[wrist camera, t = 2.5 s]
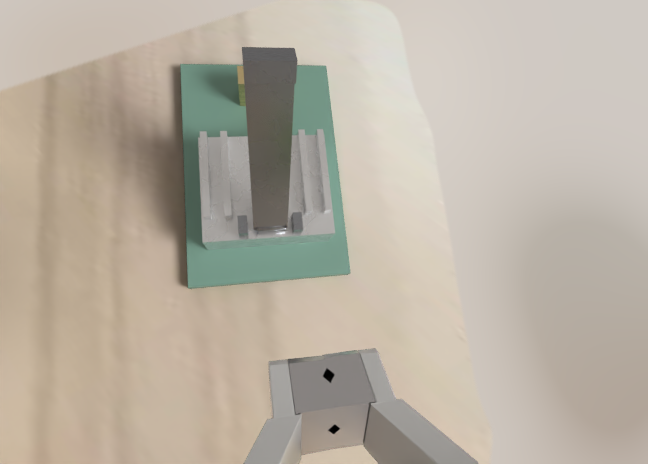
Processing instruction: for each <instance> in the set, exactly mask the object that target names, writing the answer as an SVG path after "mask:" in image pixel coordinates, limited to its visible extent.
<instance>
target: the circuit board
mask: <svg viewBox="0 0 648 464" xmlns="http://www.w3.org/2000/svg"><path fill="white" fill-rule="evenodd" d="M180 66H181V95H182V125H183V154H184V184H185V213H186V243H187V272H188V288H190V289H192V288H204V287H215V286H226V285H237V284H248V283H259V282H270V281H282V280H293V279H304V278H315V277H326V276H337V275H348V274H350V265H349V257H348V248H347V240H346V231H345V223H344V214H343V205H342V197H341V188H340V180H339V171H338V163H337V154H336V146H335V137H334V129H333V120H332V112H331V103H330V95H329V86H328V78H327V69H326V66H302V65H297V77H296V84H295V86H294V106H293V127H292V135H297V133H298V130H300V129H305V135H315V134H316V131H317V129H323V132H324V137H325V146H326V155H327V164H328V173H329V182H330V191H331V200H332V209H333V218H334V227H335V234H334V235H333V236H332V237H331V238H330V240H329V241H326V242H312V243H299V244H285V245H271V246H258V247H244V248H230V249H216V250H208V249H207V248H206V247H205V245H204V244H203V242H202V219H201V195H200V171H199V148H198V137H200V131H206V132H207V135H208V137H220V131H227V135H228V137H242V136H248V134H247V118H246V106H240V99H239V87H238V72H237V66H243V65H208V64H180Z"/></svg>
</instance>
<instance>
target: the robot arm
mask: <svg viewBox="0 0 648 464" xmlns="http://www.w3.org/2000/svg"><path fill="white" fill-rule="evenodd" d="M268 365H269V383H270V401H271V414H272V418H271V419H267V421H266V422H265V424H264V426H263V428H262V430H261V432H260V434H259V436H258V438H257V439H256V441H255V443H254V445H253V447H252V449H251V451H250V453H249V454H248V456H247V458H246V460H245V462H244V464H299V462H300V460H301V455H305V454H310V453H315V452H320V451H325V450H330V449H336V448H343V447H350V446H357V445H364V447H365V449H366V450H367V451H368V452H369V453H370V454H371V456H372V457H373V458H374V459H375V460H376V461H377V462H378V464H478V462H477V461H476V460H475V459H474V458H472V457H471V456H470V455H469V454H468V453H466V452H465V451H464V450H463V449H462V448H460V447H459V446H458V445H457V444H456V443H454V442H453V441H452V440H451V439H450V438H448V437H447V436H446V435H445V434H444V433H442V432H441V431H440V430H439V429H437V428H436V427H435V426H434V425H433V424H431V423H430V422H429V421H428V420H427V419H425V418H424V417H423V416H422V415H421V414H419V413H418V412H417V411H416V410H415V409H413V408H412V407H411V406H410V405H409V404H407V403H406V402H405V401H404V400H403V399H396V397H395V394H394V392H393V389H392V387H391V384H390V382H389V379H388V376H387V374H386V371H385V369H384V366H383V364H382V361H381V358H380V356H379V353H378V351H377V350H376V349H375V348H372V349H365V350H358V351H357V350H354V351H347V352H340V353H333V354H326V355H322V356H314V357H304V358H294V359H288V360H287V359H285V360H277V361H269V363H268Z"/></svg>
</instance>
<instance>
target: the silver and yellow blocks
mask: <svg viewBox="0 0 648 464" xmlns="http://www.w3.org/2000/svg"><path fill="white" fill-rule="evenodd" d="M237 72H238V87H239V99H240V106H246V103H245V87H244V71H243V66H237ZM198 148H199V171H200V195H201V219H202V242H203V244H204V245H205V247H206V248H207V249H208V250H216V249H230V248H244V247H258V246H271V245H285V244H299V243H312V242H326V241H329V240H330V238H331V237H332V236H333V235H334V234H335V227H334V218H333V209H332V200H331V191H330V182H329V173H328V164H327V155H326V146H325V137H324V132H323V129H317V131H316V134H315V135H305V129H300V130H298V133H297V135H292V147H291V167H290V187H289V207H288V227H287V228H286V230H272V231H256V232H255V230H254V229H253V214H252V198H251V182H250V166H249V150H248V136H242V137H228V135H227V131H220V137H208V135H207V132H206V131H200V137H198Z"/></svg>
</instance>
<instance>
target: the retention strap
mask: <svg viewBox="0 0 648 464" xmlns="http://www.w3.org/2000/svg"><path fill="white" fill-rule="evenodd" d="M242 55H243V71H244V87H245V103H246V118H247V134H248V150H249V166H250V182H251V198H252V214H253V229H254V230H255V232H256V231H272V230H286V228H287V227H288V207H289V187H290V167H291V147H292V127H293V106H294V86H295V84H296V77H297V57H296V53H295V49H294V48H256V47H242Z"/></svg>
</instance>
